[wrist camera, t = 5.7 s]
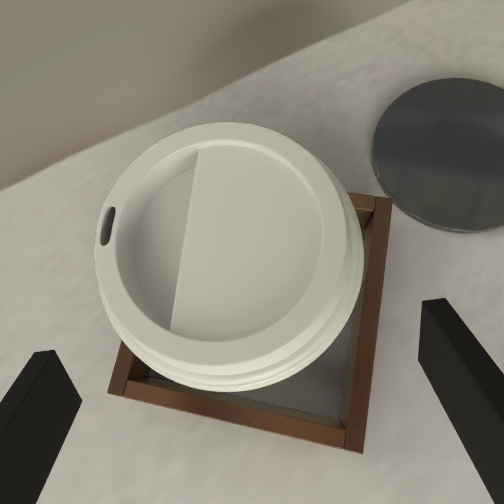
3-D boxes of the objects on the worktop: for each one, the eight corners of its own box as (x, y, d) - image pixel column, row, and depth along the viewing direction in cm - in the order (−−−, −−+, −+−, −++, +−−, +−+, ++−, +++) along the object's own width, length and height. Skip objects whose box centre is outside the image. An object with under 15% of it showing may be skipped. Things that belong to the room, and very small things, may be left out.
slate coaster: (549, 91, 28) (554, 85, 27) (547, 246, 25) (553, 244, 25) (381, 76, 30) (382, 70, 29) (361, 219, 27) (362, 216, 26)
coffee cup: (232, 213, 28) (168, 62, 14) (353, 271, 26) (427, 166, 12) (165, 330, 26) (10, 298, 12) (289, 403, 24) (283, 469, 10)
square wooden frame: (380, 218, 27) (393, 198, 24) (353, 440, 23) (363, 454, 20) (183, 189, 29) (168, 167, 26) (131, 388, 26) (106, 393, 22)
